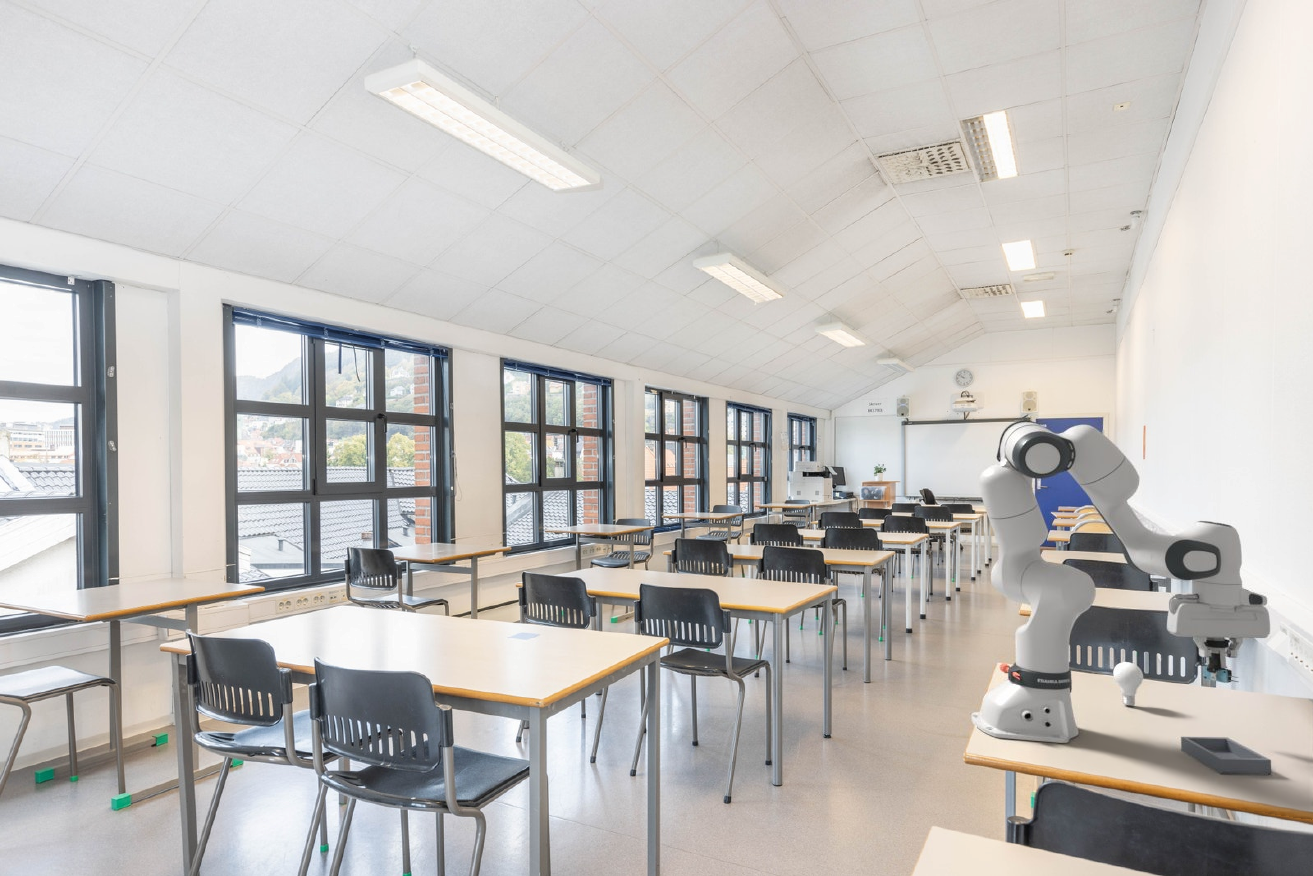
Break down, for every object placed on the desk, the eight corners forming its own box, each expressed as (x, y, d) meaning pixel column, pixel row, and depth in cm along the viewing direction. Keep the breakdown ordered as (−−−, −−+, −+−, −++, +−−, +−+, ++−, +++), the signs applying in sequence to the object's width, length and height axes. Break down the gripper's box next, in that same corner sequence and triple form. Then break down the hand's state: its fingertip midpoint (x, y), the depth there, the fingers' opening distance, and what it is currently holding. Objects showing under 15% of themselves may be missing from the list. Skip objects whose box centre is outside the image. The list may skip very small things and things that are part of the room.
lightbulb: (1129, 711, 178) (1128, 666, 178) (1108, 703, 184) (1107, 660, 184) (1150, 709, 179) (1149, 665, 180) (1128, 701, 185) (1127, 658, 186)
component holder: (1221, 774, 142) (1220, 759, 142) (1181, 750, 154) (1181, 736, 154) (1271, 775, 142) (1270, 760, 142) (1227, 751, 153) (1227, 737, 153)
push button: (1244, 683, 157) (1241, 636, 158) (1230, 685, 154) (1227, 638, 155) (1211, 677, 163) (1208, 632, 164) (1197, 679, 160) (1194, 633, 161)
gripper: (1178, 596, 156) (1179, 660, 156) (1275, 597, 156) (1276, 661, 155) (1159, 591, 163) (1160, 652, 162) (1252, 592, 162) (1253, 654, 161)
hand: (1218, 657), depth 159 cm, fingers closed on push button, 4 cm apart
